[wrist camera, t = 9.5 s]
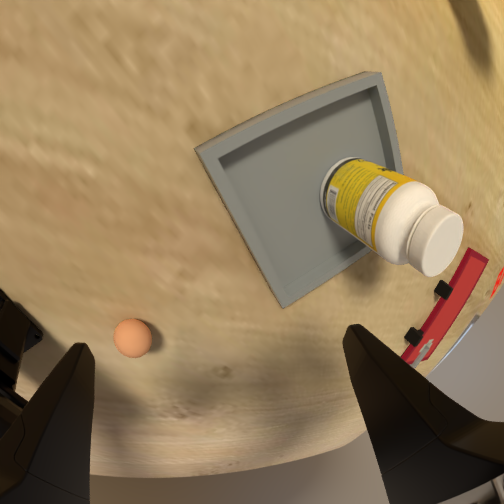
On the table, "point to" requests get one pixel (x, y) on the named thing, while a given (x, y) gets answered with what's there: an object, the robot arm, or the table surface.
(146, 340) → the orange ball
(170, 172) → the table surface
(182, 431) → the table surface
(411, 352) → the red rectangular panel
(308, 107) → the tray
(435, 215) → the supplement bottle
